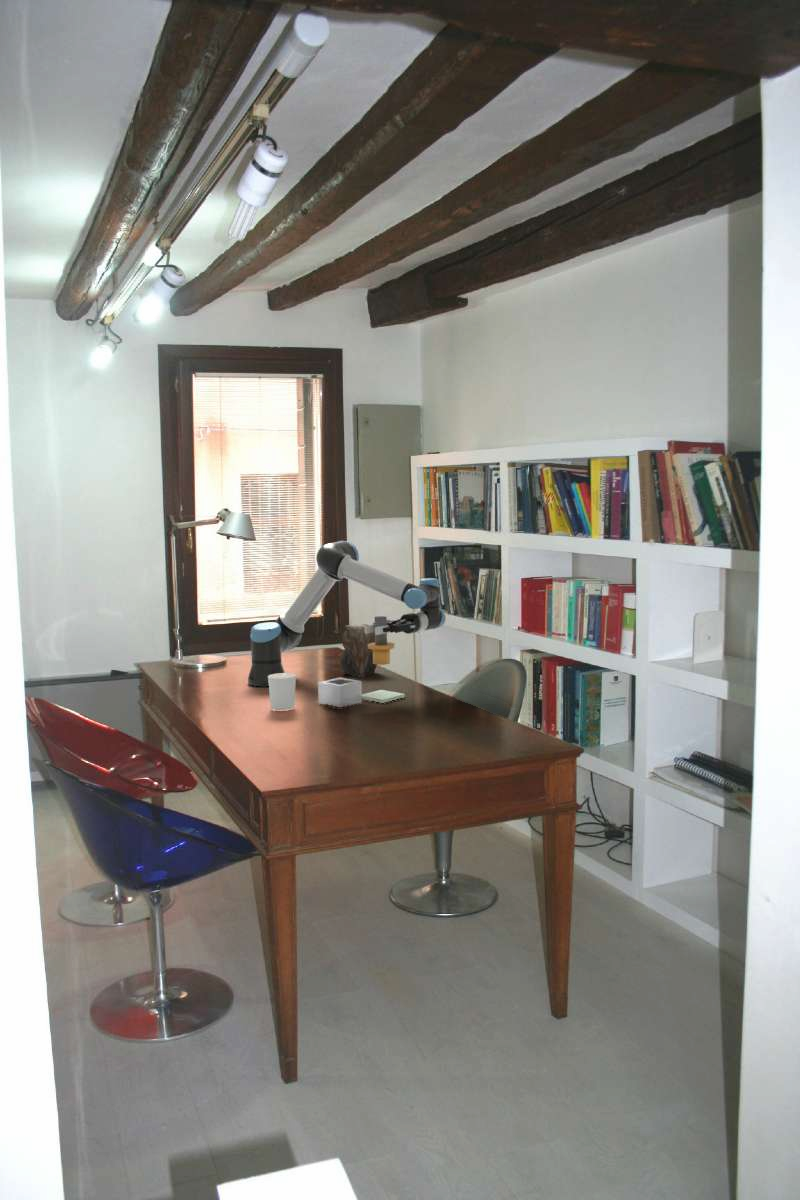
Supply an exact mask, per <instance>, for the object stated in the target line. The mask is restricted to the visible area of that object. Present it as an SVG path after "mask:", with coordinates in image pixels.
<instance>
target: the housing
mask: <svg viewBox="0 0 800 1200" xmlns="http://www.w3.org/2000/svg"><path fill="white" fill-rule="evenodd" d="M362 684H363V682H362V680H359V679H358V680H356V679H351V678H346V677H336V678H332V679H328V680H323V681H318V684H317V686H318V687H317V690H318V691H317V692H318V704H319V703H322V704H328V705H333V706H337V707H343V706H347V705H351V704H355V703H360V702H362V703H363V700H362V694H363V685H362ZM360 704H361V703H360Z"/></svg>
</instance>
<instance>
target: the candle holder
mask: <svg viewBox="0 0 800 1200" xmlns="http://www.w3.org/2000/svg"><path fill="white" fill-rule="evenodd" d="M296 676H297V675H296V674H295V673H289V672H285V673H277V674H271V675H269V676H268V683H269V687H268V692H269V703H270V704H269V705H270V710H271V709H275V710H286V709H292V708H294V707H295V706H296V683H297V682H296V678H297V677H296ZM295 708H296V707H295Z"/></svg>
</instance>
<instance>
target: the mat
mask: <svg viewBox="0 0 800 1200" xmlns="http://www.w3.org/2000/svg"><path fill="white" fill-rule="evenodd" d="M404 697H405V698H406V693H402V692H397V691H391V690H390V691H389V690H386V689H385V690H384V689H379V690H374V691H370V692H367V693H366V692H365V693H362V699H365V700H370V701H369V702H371V701H375V702H374V703H376V702H380V703H379V704H381V703H384V702H388V701H392V700H395V701H397V700H396V699H399V698H403V699H405V698H404ZM365 700H364V701H365ZM399 700H400V699H399ZM392 702H393V701H392ZM388 703H389V702H388ZM384 704H385V703H384Z"/></svg>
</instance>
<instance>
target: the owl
mask: <svg viewBox="0 0 800 1200" xmlns="http://www.w3.org/2000/svg"><path fill="white" fill-rule="evenodd" d="M368 625H369V624H364V623H363V624H360V625H350V624H348V625H345V626H344V629H345V631H344V633H343V635H342V639H341V641H342V647H343V649H344V650H343V652H342V655H341V659H340V664H341V668H342V671H343V675H345V674H349V675H348V676H350V675H355V676H360V677H359V678H362V677H363V676H365V677H367V676H366V675H368V676H371V675H373V674H372V673H374V674H375V673H376V669H377V666H378V665H376V664H373V650H372V649H368V644H370V643H375V632H373V633H368V634H365V626H368ZM370 674H371V675H370ZM355 676H354V677H355ZM363 678H364V677H363Z"/></svg>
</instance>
